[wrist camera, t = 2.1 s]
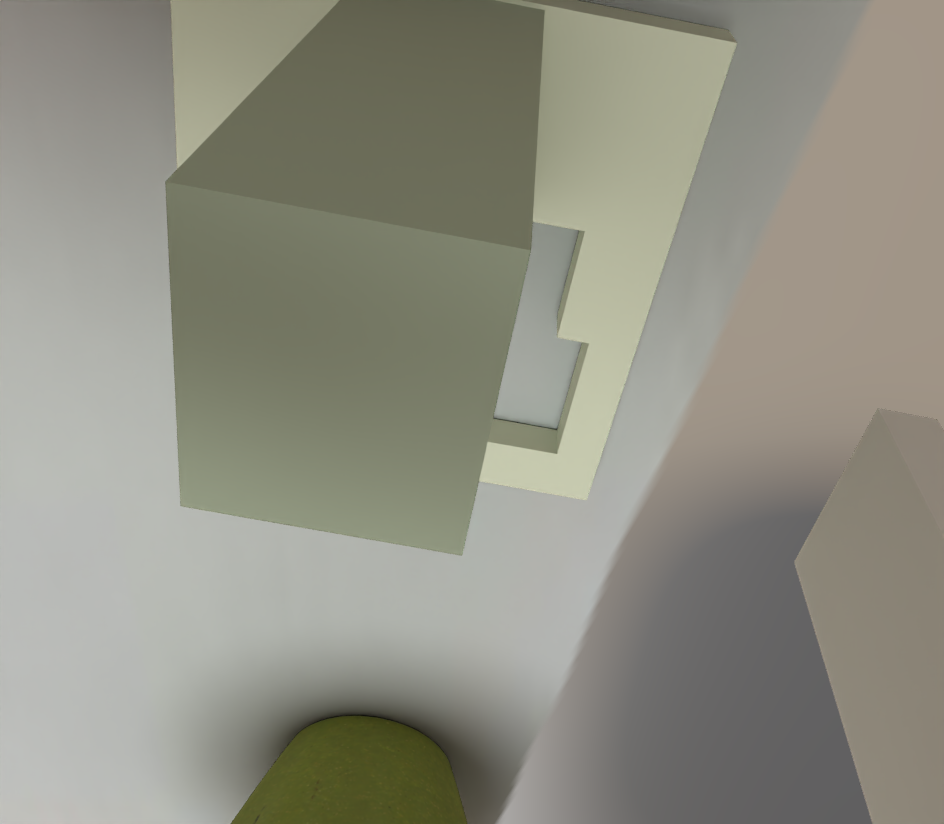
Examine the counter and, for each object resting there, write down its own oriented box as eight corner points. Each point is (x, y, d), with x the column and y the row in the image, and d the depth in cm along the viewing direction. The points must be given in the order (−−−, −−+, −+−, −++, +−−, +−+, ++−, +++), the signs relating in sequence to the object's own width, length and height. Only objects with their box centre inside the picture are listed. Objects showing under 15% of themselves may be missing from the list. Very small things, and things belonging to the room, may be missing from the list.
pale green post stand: (186, -77, 20) (-243, 95, 9) (728, 30, 20) (917, 314, 10) (199, 406, 28) (-20, 793, 17) (585, 475, 28) (602, 895, 18)
